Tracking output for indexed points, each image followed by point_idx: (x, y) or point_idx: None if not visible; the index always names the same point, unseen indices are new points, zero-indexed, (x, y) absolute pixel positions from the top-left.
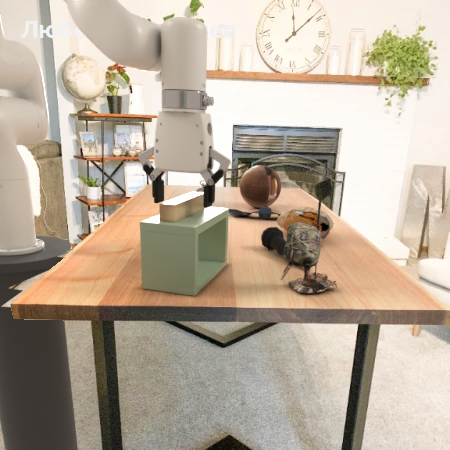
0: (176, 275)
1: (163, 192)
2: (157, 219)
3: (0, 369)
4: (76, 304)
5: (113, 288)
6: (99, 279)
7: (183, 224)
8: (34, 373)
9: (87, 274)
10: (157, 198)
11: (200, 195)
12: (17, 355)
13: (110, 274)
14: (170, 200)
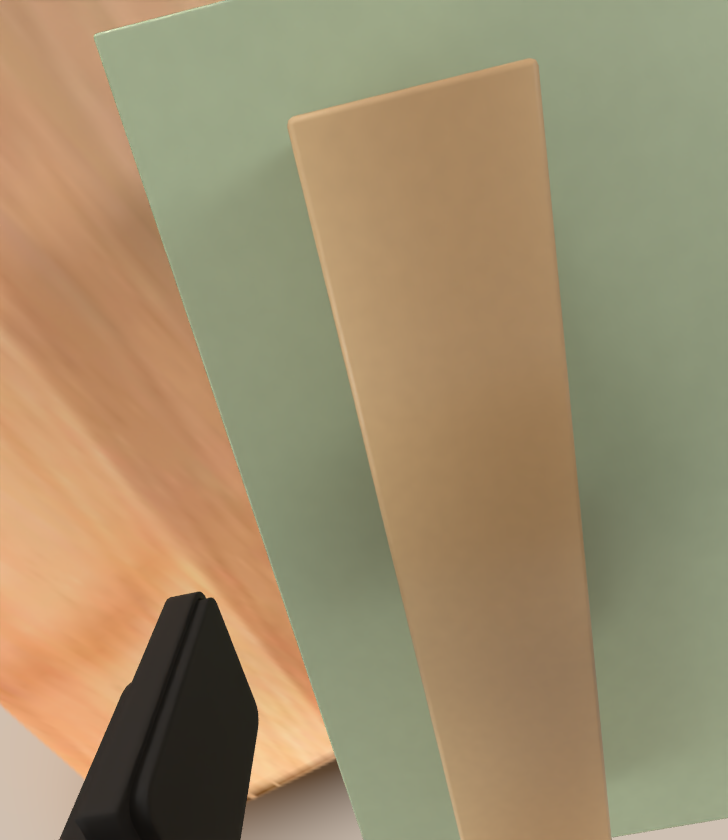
0: None
1: (198, 677)
2: (420, 787)
3: None
4: (288, 771)
5: (274, 639)
6: (153, 603)
7: (646, 797)
8: None
9: (62, 589)
10: (250, 752)
11: (561, 313)
12: None
13: (134, 540)
14: (482, 830)
